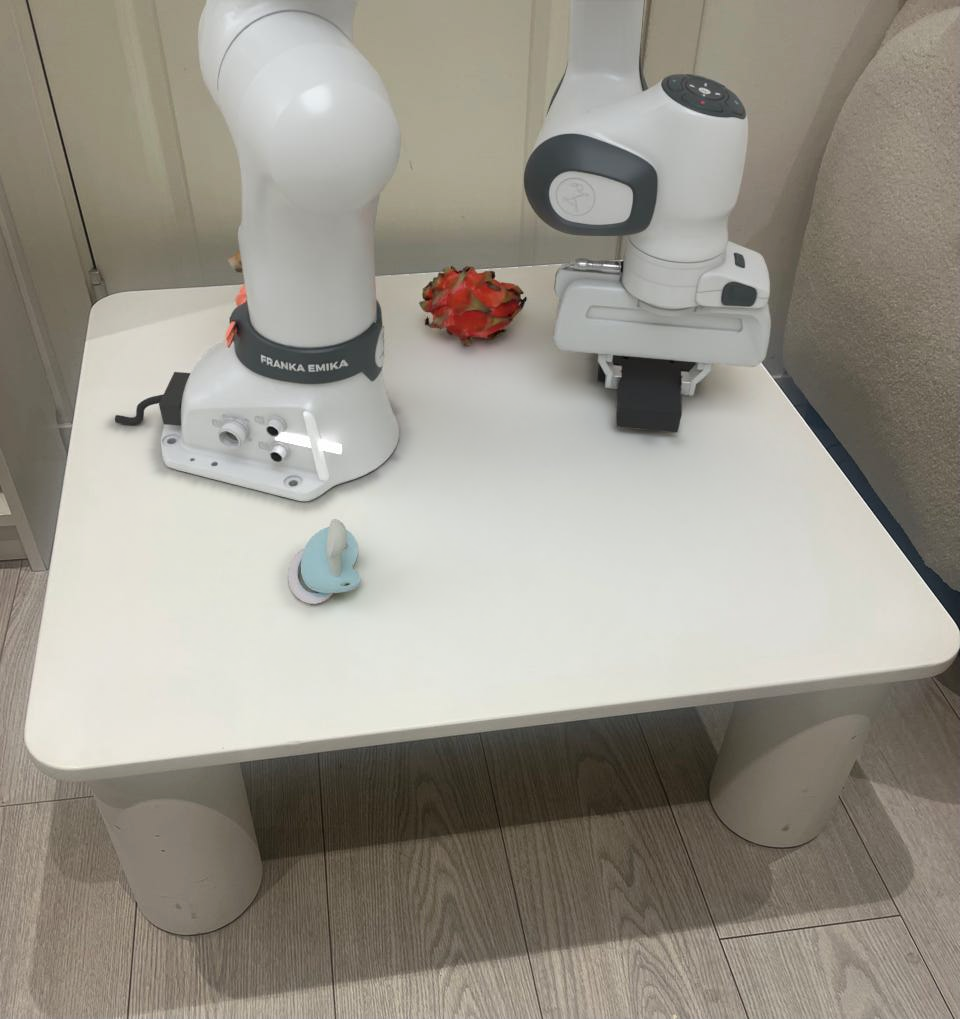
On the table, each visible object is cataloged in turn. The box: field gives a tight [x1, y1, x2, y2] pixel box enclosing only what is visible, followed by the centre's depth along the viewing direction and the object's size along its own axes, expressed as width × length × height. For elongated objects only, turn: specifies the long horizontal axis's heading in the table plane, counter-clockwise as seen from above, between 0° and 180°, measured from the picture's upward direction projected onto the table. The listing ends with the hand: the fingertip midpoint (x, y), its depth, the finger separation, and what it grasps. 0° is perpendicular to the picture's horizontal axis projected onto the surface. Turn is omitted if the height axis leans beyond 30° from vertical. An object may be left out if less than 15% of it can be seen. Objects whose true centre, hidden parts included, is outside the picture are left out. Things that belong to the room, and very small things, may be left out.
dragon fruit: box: [418, 265, 528, 346], centre depth 109 cm, size 8×8×12 cm
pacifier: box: [287, 518, 361, 605], centre depth 83 cm, size 7×6×6 cm
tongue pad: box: [615, 356, 683, 434], centre depth 102 cm, size 12×6×2 cm, turn 174°
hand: (649, 388), depth 101 cm, fingers closed on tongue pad, 6 cm apart
